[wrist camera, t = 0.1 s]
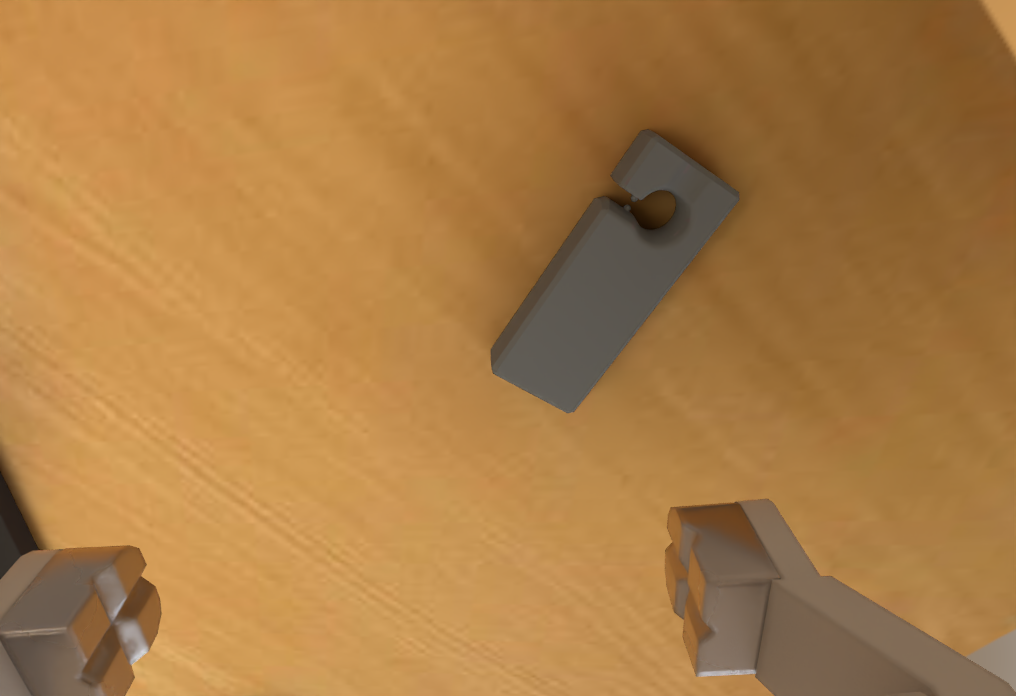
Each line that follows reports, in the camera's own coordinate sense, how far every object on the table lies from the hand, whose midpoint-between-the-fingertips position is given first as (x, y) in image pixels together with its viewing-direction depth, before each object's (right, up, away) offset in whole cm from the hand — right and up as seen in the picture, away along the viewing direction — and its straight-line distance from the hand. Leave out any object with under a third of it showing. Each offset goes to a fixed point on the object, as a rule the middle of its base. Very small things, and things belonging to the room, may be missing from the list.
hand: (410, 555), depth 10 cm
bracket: (+5, +6, +15) cm, 17 cm away
